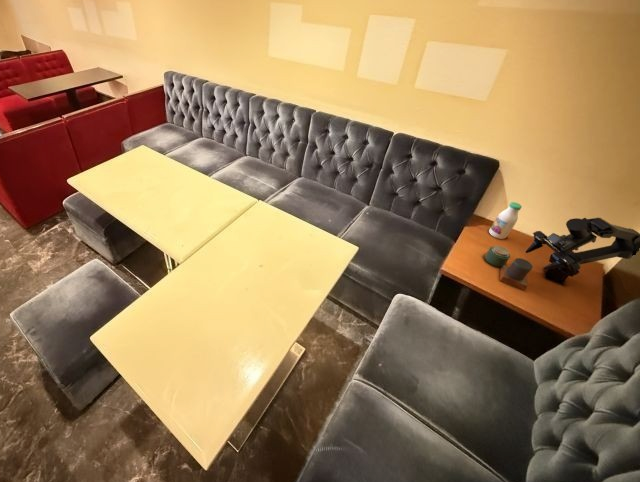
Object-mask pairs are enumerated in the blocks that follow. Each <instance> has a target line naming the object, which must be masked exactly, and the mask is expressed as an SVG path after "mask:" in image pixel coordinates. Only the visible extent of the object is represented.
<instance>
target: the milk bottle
mask: <svg viewBox="0 0 640 482" xmlns="http://www.w3.org/2000/svg"><path fill="white" fill-rule="evenodd" d="M521 209H522V205H521V204H520V203H518V202H514V201H511V202H510V203H509V204H508V207H507V208H506V209H504V210H502V211H500V213H499V214H498V215H497V217H496V219H495V220H494V221H493V223H492V224H491V226H490V228H489V230H488V232H489V234H490V235H491V236H492V237H494V238H496V239H499V240H504V239H506V238H507V237H508V236H509V234H510V233H511V231H512V230H513V229H514V227H515V225H516V223H517V222H518V220H519V219H518V218H519V212H520V211H521Z"/></svg>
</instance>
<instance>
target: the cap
mask: <svg viewBox="0 0 640 482" xmlns="http://www.w3.org/2000/svg"><path fill="white" fill-rule="evenodd" d="M533 267H534V266H533V264H532V263H531V262H530V261H528V260H527V259H524V258H520V257H516V258H515V259H514V260H513V262H511V264H510V265H509V268H508V270H507V274H508V275H509V276H510V277H511V278H513V279H516V280H523V279H524V278H525V276H526V275H527V276H528V274H529V273H530V271H532V269H533Z"/></svg>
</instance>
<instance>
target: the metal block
mask: <svg viewBox="0 0 640 482" xmlns="http://www.w3.org/2000/svg"><path fill="white" fill-rule="evenodd" d="M509 267H510V265H506V264H505V265H503V266H502V267H501V268H500V271H499V272H500V275H499V282H502V283H504V284H507V285H509V286H512V287H514V288H517V289H519V290H522V291H524V290H525V289H526V288H527V286H528V277H527V276H528V274H527V275H526V276H525V278H524V279H523V280H516V279H513V278H511V277H510V276H509V275H508V274H507V270H508V268H509Z"/></svg>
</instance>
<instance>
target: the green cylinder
mask: <svg viewBox="0 0 640 482" xmlns="http://www.w3.org/2000/svg"><path fill="white" fill-rule="evenodd" d="M510 258H511V254H510V252H509V250H508V249H507V248H505V247H503V246H501V245H492V246H490V247H489V249H488V250H487V252H486V253H485V255H484V256H483V259H484V261H485V263H487V264H488V265H490V266H491V267H494V268H497V269H499V268H500V269H501V268H502V266H503V265H506V263H508V261H509V259H510Z"/></svg>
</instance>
